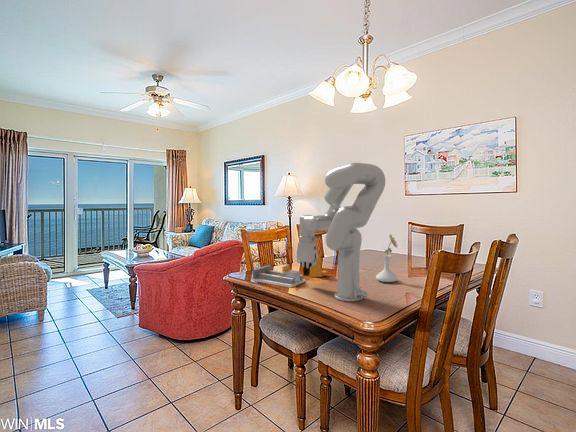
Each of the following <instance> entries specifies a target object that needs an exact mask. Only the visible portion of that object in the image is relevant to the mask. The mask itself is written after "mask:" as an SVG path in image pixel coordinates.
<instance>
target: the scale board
mask: <svg viewBox="0 0 576 432" xmlns="http://www.w3.org/2000/svg"><path fill="white" fill-rule="evenodd" d="M279 275H282V271H278V270H272V265H271V264H267V265H264V266H260V267H257V268H254V269H252V281H253V282H258V283H262V284H263V283H264V284H269V285H274V286H279V287H285V288H293V287H296V286H298V285H301V284H303V283H305V282H306V279H304V275H303V274H300V281H298V282H296V283H295V279H294V278H289V277H283V276H281V277H279Z"/></svg>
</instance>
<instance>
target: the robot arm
mask: <svg viewBox="0 0 576 432" xmlns="http://www.w3.org/2000/svg"><path fill="white" fill-rule="evenodd" d="M324 183H325V185H326V187H327V188H328V189H327V191H326V192H325V194H324V196H323V197H324V201H325V202H326V203H327V204H328V205H329V208H328V210H327V211H326V213H325V214H323V215H311V214H302V215H300V217H299V238H298V239H299V241H298V242H297V249H296V262H297V263H298V264H300V265H301V267H302V274H303V277H304V276H306V277H309V274H310V267H311V266H312V265H316V261H317V255H318V246H317V243H316V241H317V238H316V237H315V236H316V235H315V232H322V231H327V232H326V235H325V243H326V246H327V247H328V248H329V249H330V250H331V251H335V252H337V251H338V253H337V254H338V255H337V292H335V293H334V295H333V296H334V298H335V299H336V300H338V301H342V302H360V301H362V300H363V299H364V298H369V293H368V291H364V290H363V289H362V287H360V261H361V260H360V259H361V257H360V254H361V253H360V252H361V247H362V239H363V237H362V233H361V231H360V230H359V228H360V229H361V228H363V227H365V226H367V224H368V222H369V219H370V218H371V215H372V214H373V211H374V210H375V208H376V206H377V203H378V201H379V199H380V198H381V196H382V195H383V192H384V190H385V187H386V176H385V173H384V171H383V169H381V168H380V167H379V166H377V165H376V164H371V163H362V162H351V163H348V164H345V165H341V166H338V167H335V168H332V169H330V170H329V171H328V172H327V174H326V175H325V178H324ZM354 185H364V187H363V188H362V189H361V190H360V191H359V192H358V194H357V195H356V198H355V201H354V202H353V204H352V205H346V206H342V207H341V204H342V203H343V201H344V200H345V198H346V197H347V195H348V194H349V192H350V190H351V189H352V188H353V186H354ZM312 262H313V263H312Z"/></svg>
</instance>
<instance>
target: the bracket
mask: <svg viewBox="0 0 576 432" xmlns="http://www.w3.org/2000/svg"><path fill="white" fill-rule="evenodd" d="M312 263H313V262H312ZM321 263H322V257H321V256H320V254H317V261H316V265H312V266H311V267H310V274H309V275H308V277H311V278H312V277H313V278H322V277H325V276H327V275H328V270H323V269H322V266H321Z"/></svg>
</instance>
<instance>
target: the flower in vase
mask: <svg viewBox="0 0 576 432" xmlns="http://www.w3.org/2000/svg"><path fill="white" fill-rule="evenodd" d="M388 236H389V237H388V238H389V239H390V242H389V245H388V247H387V249H385V250H384V253H386V254H382V255H381V256H382V258H383V261H384V268H383V269H382V271H380V272H378V273H377V274H376V275H375V278H376V280H378V281H379V282H384V283H393V282H396V281H398V280H399V278H398V276H397V275H396V274H395V273H394V272H393V271H392V270H391V269H390V260H391V258H392V257H393V256H392V254H389V253H392V252H393V251H392V248H390V246H391V244H392V245H393V246H394V247H395V248H398V246H399V245H398V244H397V241H396V239H395V237H393V235H392V234H389V235H388Z"/></svg>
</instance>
